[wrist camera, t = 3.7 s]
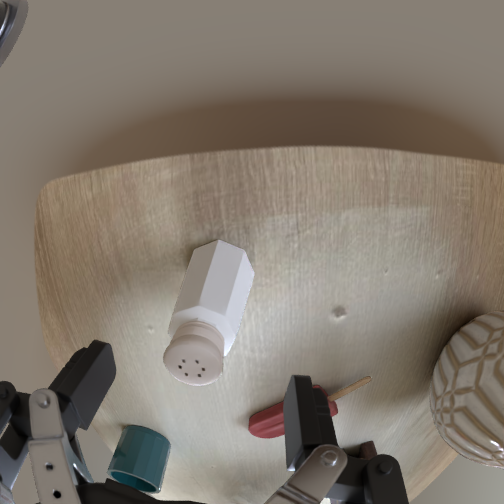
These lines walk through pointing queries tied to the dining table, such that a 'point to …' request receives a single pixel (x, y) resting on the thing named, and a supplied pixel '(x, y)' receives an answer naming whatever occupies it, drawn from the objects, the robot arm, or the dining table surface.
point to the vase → (472, 390)
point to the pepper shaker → (208, 312)
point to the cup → (140, 459)
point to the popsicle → (272, 418)
